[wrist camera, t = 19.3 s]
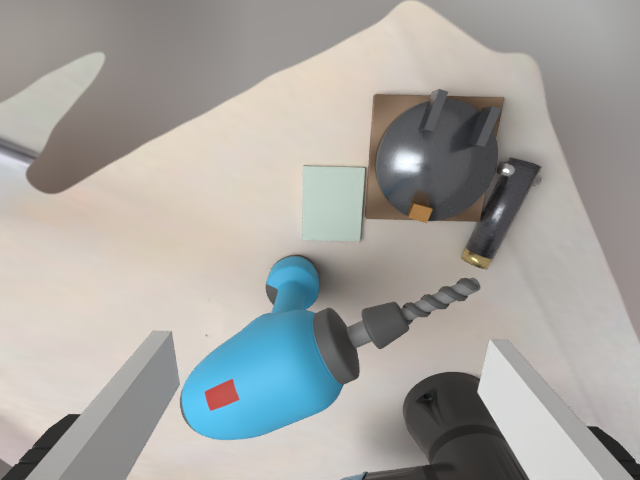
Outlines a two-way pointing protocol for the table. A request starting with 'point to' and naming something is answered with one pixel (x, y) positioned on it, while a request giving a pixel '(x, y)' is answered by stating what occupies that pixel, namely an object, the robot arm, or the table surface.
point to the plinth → (382, 117)
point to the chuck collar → (437, 157)
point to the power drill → (292, 356)
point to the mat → (332, 203)
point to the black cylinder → (500, 210)
